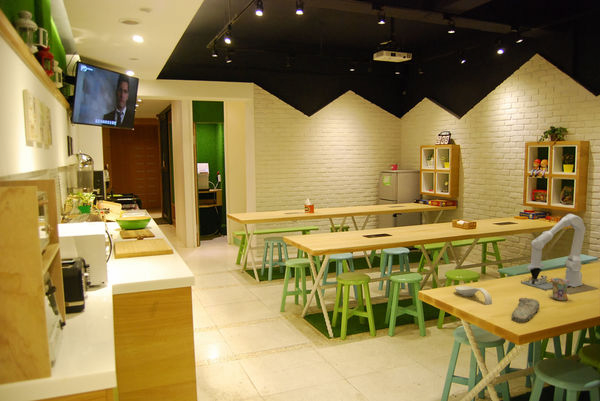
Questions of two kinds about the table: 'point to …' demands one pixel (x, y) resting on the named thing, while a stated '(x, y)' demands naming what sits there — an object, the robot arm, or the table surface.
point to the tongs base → (534, 280)
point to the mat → (540, 285)
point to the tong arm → (541, 280)
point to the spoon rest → (473, 292)
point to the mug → (559, 288)
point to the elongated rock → (525, 310)
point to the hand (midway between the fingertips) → (534, 279)
